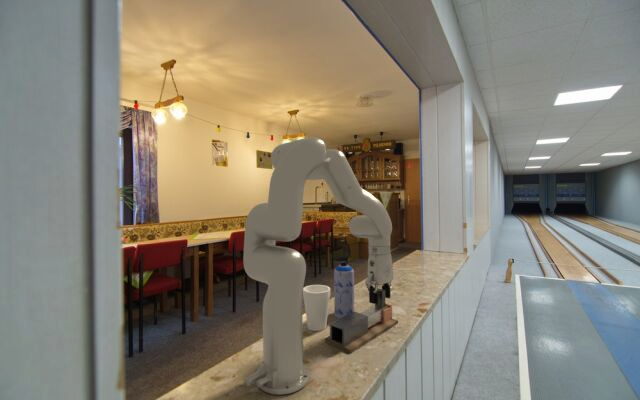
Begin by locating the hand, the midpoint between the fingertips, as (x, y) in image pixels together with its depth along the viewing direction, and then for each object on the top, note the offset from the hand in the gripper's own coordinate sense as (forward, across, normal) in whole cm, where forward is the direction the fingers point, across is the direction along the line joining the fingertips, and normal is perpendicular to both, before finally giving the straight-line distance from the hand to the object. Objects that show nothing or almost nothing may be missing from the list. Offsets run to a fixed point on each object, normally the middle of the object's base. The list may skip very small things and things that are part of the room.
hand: (380, 300), depth 101 cm
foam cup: (+8, -18, +14) cm, 24 cm away
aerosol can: (+8, -3, +14) cm, 16 cm away
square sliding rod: (+6, -6, 0) cm, 8 cm away
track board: (+8, -11, 0) cm, 13 cm away
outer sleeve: (+7, -18, 0) cm, 19 cm away
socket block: (+7, +1, 0) cm, 7 cm away
